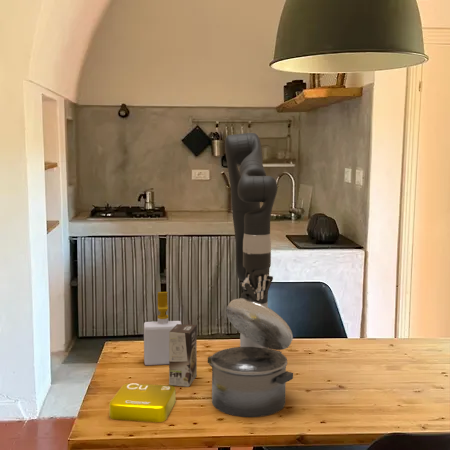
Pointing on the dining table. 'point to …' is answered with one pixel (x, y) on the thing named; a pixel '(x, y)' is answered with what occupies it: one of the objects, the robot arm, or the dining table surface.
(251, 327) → the cooker lid
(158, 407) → the element tile
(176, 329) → the coffee box
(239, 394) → the cooker pot
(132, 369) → the dining table surface
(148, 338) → the soap bottle
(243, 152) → the robot arm
